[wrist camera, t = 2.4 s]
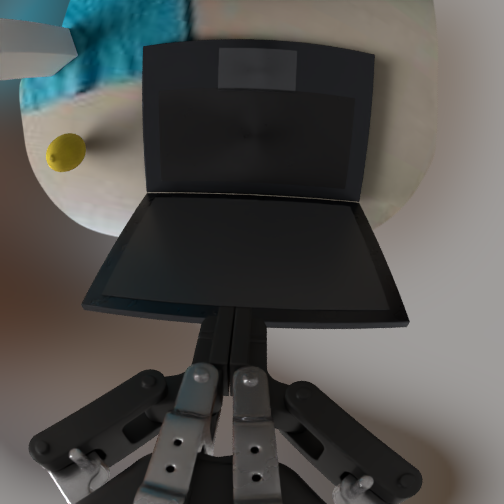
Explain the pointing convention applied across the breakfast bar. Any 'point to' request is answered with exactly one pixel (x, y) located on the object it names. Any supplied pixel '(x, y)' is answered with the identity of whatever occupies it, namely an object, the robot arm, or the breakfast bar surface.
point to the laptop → (256, 118)
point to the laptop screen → (249, 263)
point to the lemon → (66, 152)
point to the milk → (33, 49)
